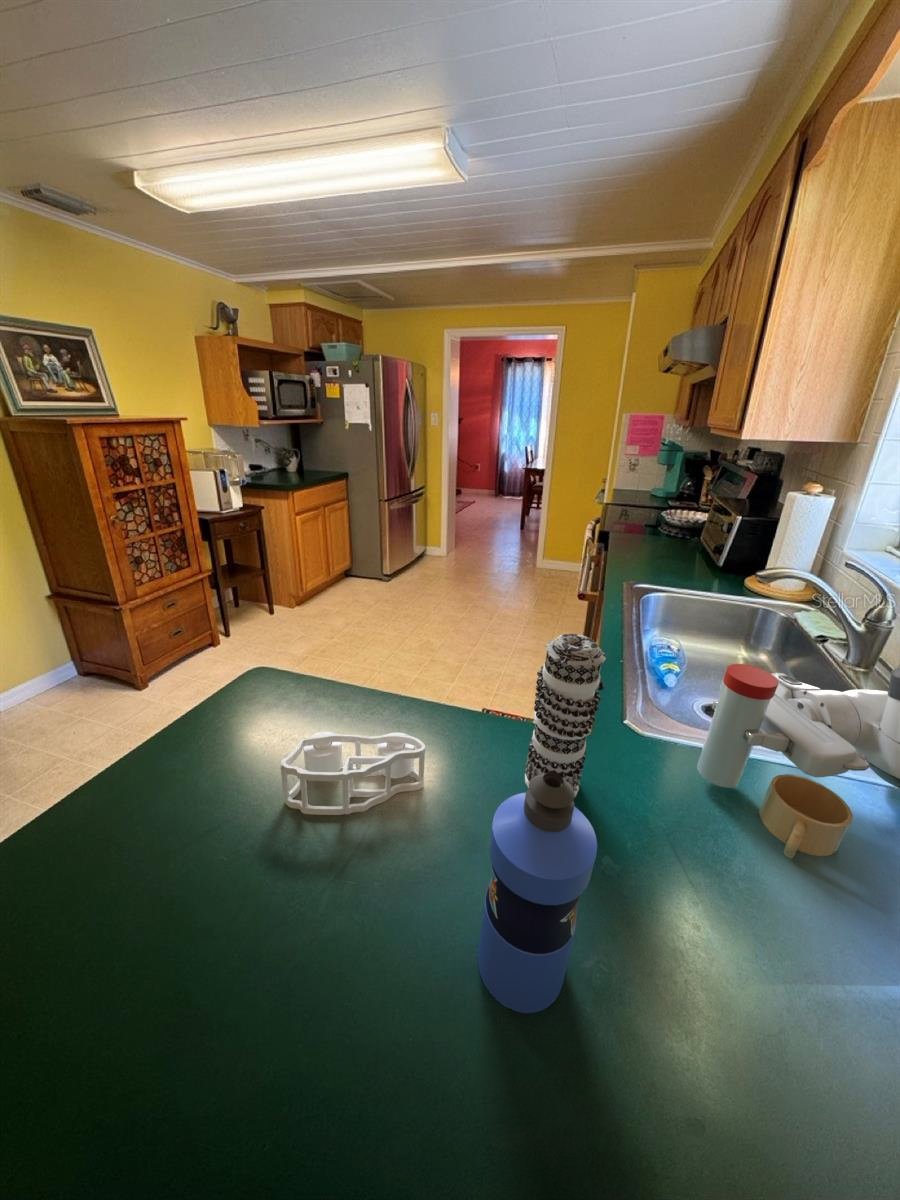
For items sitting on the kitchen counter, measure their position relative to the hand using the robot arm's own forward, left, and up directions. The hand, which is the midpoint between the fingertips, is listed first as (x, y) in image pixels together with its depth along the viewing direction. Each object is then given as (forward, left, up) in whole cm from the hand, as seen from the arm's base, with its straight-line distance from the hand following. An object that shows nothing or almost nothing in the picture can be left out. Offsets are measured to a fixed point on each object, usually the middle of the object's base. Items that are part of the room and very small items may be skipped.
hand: (730, 721), depth 70 cm
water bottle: (+34, +26, -13) cm, 45 cm away
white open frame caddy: (+55, +2, -13) cm, 57 cm away
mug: (-8, +9, -13) cm, 17 cm away
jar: (-1, 0, -10) cm, 10 cm away
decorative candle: (+25, 0, -13) cm, 28 cm away
